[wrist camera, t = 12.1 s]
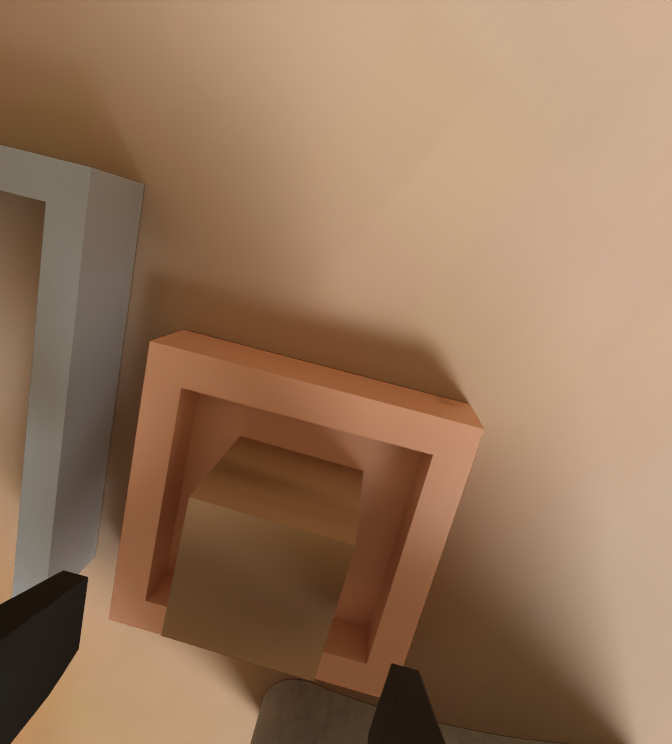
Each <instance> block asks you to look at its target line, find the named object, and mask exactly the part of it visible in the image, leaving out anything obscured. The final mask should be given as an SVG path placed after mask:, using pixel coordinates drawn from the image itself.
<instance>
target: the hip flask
mask: <svg viewBox="0 0 672 744" xmlns="http://www.w3.org/2000/svg"><path fill="white" fill-rule="evenodd" d="M376 708H377V707H376V706H373V705H370V704H367V703H364V702H361V701H358V700H355V699H352V698H349V697H347V696H344V695H341V694H338V693H336V692H333V691H330V690H328V689H325V688H323V687H320V686H318V685H315V684H313V683H310V682H307V681H303V680H285V681H282V682H279V683H277V684H275V685H273V686H272V687H271V688H270V689H269V690H268V691H267V692H266V694H265V695H264V698H263V701H262V704H261V708H260V711H259V715H258V719H257V722H256V726H255V729H254V733H253V737H252V740H251V744H367V743H368V732H369V729H370V726H371V723H372V720H373V717H374V714H375V711H376ZM438 724H439V727H440V729H441V732H442V734H443V737H444V739H445V742H446V744H562V743H551V742H543V741H534V740H527V739H520V738H513V737H506V736H500V735H494V734H489V733H484V732H478V731H473V730H469V729H464V728H459V727H454V726H450V725H445V724H441V723H438Z"/></svg>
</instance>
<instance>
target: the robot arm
mask: <svg viewBox="0 0 672 744" xmlns="http://www.w3.org/2000/svg"><path fill="white" fill-rule="evenodd" d="M87 583H88V577H86V576H82V575H79V574H75V573H72V572H68V571H65V570H63V571H61V572H59V573H57V574H55V575H53V576H51V577H50V578H48V579H46V580H44V581H42V582H40V583H38V584H37V585H35V586H33V587H31V588H29V589H28V590H26V591H24V592H22V593H20V594H18V595H17V596H15V597H13V598H11V599H9V600H7V601H6V602H4V603H2V604H0V744H11V742H12V741H13V740H14V739H15V737H16V736H17V735H18V734H19V732H20V731H21V730H22V729H23V727H24V726H25V725H26V724H27V722H28V721H29V720H30V718H31V717H32V716H33V715H34V713H35V712H36V711H37V710H38V708H39V707H40V706H41V705H42V703H43V702H44V701H45V699H46V698H47V697H48V696H49V694H50V693H51V691H52V690H53V688H54V686H55V685H56V683H57V682H58V680H59V679H60V677H61V676H62V674H63V673H64V671H65V670H66V668H67V667H68V665H69V663H70V662H71V660H72V659H73V657H74V655H75V654H76V652H77V651H78V649H79V643H80V635H81V628H82V620H83V613H84V605H85V598H86V590H87ZM367 744H446V742H445V739H444V737H443V734H442V732H441V729H440V727H439V724H438V721H437V719H436V716H435V714H434V711H433V708H432V705H431V703H430V700H429V697H428V694H427V691H426V689H425V686H424V683H423V680H422V677H421V675H420V673H419V671H418V670H414V669H411V668H407V667H404V666H400V665H397V664H393V663H391V666H390V669H389V672H388V675H387V678H386V681H385V684H384V687H383V690H382V693H381V696H380V699H379V702H378V705H377V708H376V711H375V714H374V717H373V720H372V723H371V726H370V729H369V732H368V743H367Z"/></svg>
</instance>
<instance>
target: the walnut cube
mask: <svg viewBox="0 0 672 744" xmlns="http://www.w3.org/2000/svg"><path fill="white" fill-rule="evenodd" d="M362 480H363V471H362V470H358V469H355V468H351V467H348V466H344V465H341V464H337V463H334V462H330V461H327V460H323V459H320V458H316V457H313V456H309V455H306V454H302V453H299V452H295V451H292V450H288V449H285V448H281V447H278V446H274V445H271V444H267V443H264V442H260V441H257V440H253V439H250V438H246V437H242V436H239V437H238V439H237V440H236V441H235V442H234V444H233V445H232V446H231V447H230V448H229V450H228V451H227V452H226V453H225V454H224V456H223V457H222V458H221V459H220V460H219V462H218V463H217V464H216V465H215V466H214V468H213V469H212V470H211V471H210V473H209V474H208V475H207V476H206V477H205V479H204V480H203V481H202V482H201V483H200V485H199V486H198V487H197V488H196V489H195V491H194V492H193V493H192V494H191V496H190V497H189V500H188V505H187V510H186V515H185V520H184V525H183V530H182V535H181V540H180V545H179V550H178V555H177V560H176V565H175V570H174V575H173V580H172V585H171V590H170V595H169V600H168V605H167V610H166V615H165V620H164V625H163V630H162V635H161V636H164V637H167V638H171V639H174V640H177V641H181V642H184V643H187V644H190V645H194V646H197V647H200V648H204V649H207V650H210V651H214V652H217V653H220V654H224V655H227V656H230V657H233V658H237V659H240V660H243V661H247V662H250V663H253V664H257V665H260V666H263V667H267V668H270V669H273V670H276V671H280V672H283V673H286V674H290V675H293V676H296V677H300V678H303V679H306V680H310V681H313V682H314V680H315V676H316V673H317V670H318V667H319V663H320V660H321V657H322V654H323V650H324V647H325V644H326V641H327V637H328V634H329V631H330V628H331V624H332V621H333V618H334V615H335V611H336V608H337V605H338V602H339V598H340V595H341V592H342V589H343V585H344V582H345V579H346V576H347V572H348V569H349V566H350V563H351V559H352V556H353V553H354V550H355V546H356V538H357V528H358V519H359V509H360V499H361V489H362Z"/></svg>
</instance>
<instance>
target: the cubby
mask: <svg viewBox="0 0 672 744" xmlns="http://www.w3.org/2000/svg"><path fill="white" fill-rule="evenodd" d="M144 185H145V184H142V183H139V182H136V181H133V180H130V179H127V178H124V177H120V176H117V175H114V174H111V173H108V172H105V171H101V170H98V169H95V168H92V167H88V166H84V165H80V164H76V163H72V162H68V161H64V160H60V159H56V158H52V157H48V156H44V155H40V154H36V153H32V152H28V151H24V150H20V149H16V148H12V147H8V146H4V145H0V190H1V191H5V192H9V193H13V194H17V195H21V196H24V197H28V198H32V199H36V200H40V201H44V202H46V207H45V218H44V230H43V241H42V253H41V265H40V276H39V288H38V300H37V311H36V323H35V335H34V346H33V358H32V370H31V381H30V393H29V405H28V416H27V428H26V440H25V451H24V463H23V475H22V486H21V498H20V510H19V521H18V533H17V545H16V556H15V568H14V580H13V591H12V598H13V597H15V596H17V595H18V594H20V593H22V592H24V591H26V590H28V589H29V588H31V587H33V586H35V585H37V584H38V583H40V582H42V581H44V580H46V579H48V578H50V577H51V576H53V575H55V574H57V573H59V572H61V571H63V570H65V571H68V572H72V573H75V574H79V573H80V572H81V571H82V570H83V569H84V568H85V567H86V565H87V564H88V563H89V562H90V561H91V560H92V559H93V558H94V557H95V552H96V545H97V537H98V530H99V522H100V515H101V507H102V500H103V492H104V485H105V477H106V470H107V462H108V455H109V448H110V440H111V433H112V425H113V418H114V410H115V403H116V395H117V388H118V380H119V373H120V365H121V358H122V350H123V343H124V335H125V328H126V320H127V313H128V305H129V298H130V290H131V283H132V275H133V268H134V260H135V253H136V245H137V238H138V230H139V223H140V215H141V208H142V200H143V193H144Z"/></svg>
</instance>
